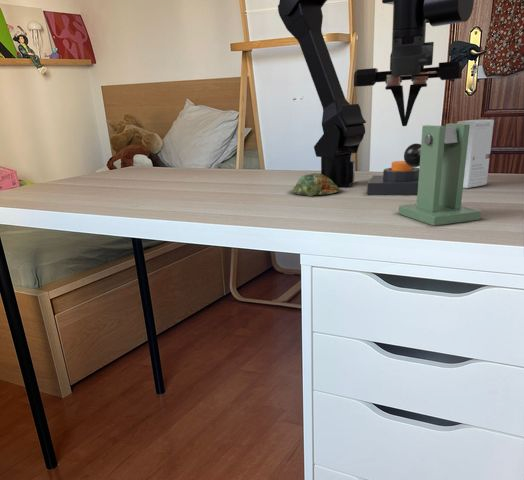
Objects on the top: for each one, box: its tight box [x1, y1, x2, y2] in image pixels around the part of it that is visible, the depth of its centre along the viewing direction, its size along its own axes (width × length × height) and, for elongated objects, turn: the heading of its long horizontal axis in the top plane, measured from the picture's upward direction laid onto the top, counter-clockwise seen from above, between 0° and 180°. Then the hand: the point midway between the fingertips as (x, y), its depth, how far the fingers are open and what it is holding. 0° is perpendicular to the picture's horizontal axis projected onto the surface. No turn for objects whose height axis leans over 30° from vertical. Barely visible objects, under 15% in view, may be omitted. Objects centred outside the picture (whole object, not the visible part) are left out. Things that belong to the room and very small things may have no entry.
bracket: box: [398, 122, 482, 227], centre depth 80 cm, size 10×8×13 cm
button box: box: [366, 167, 419, 196], centre depth 104 cm, size 12×10×4 cm
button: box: [390, 160, 412, 171], centre depth 103 cm, size 4×4×2 cm
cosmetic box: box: [456, 119, 495, 189], centre depth 103 cm, size 6×4×12 cm
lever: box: [403, 126, 458, 168], centre depth 82 cm, size 11×4×4 cm, turn 18°
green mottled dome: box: [291, 173, 340, 197], centre depth 107 cm, size 10×4×10 cm
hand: (404, 126), depth 100 cm, fingers closed
